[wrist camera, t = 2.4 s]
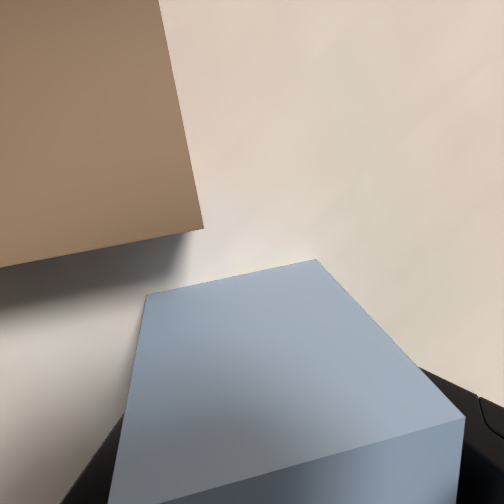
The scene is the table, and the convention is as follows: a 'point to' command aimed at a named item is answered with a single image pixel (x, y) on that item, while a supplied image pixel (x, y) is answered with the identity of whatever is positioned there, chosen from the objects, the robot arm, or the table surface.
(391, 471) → the slate block
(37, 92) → the walnut block
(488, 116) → the table surface
